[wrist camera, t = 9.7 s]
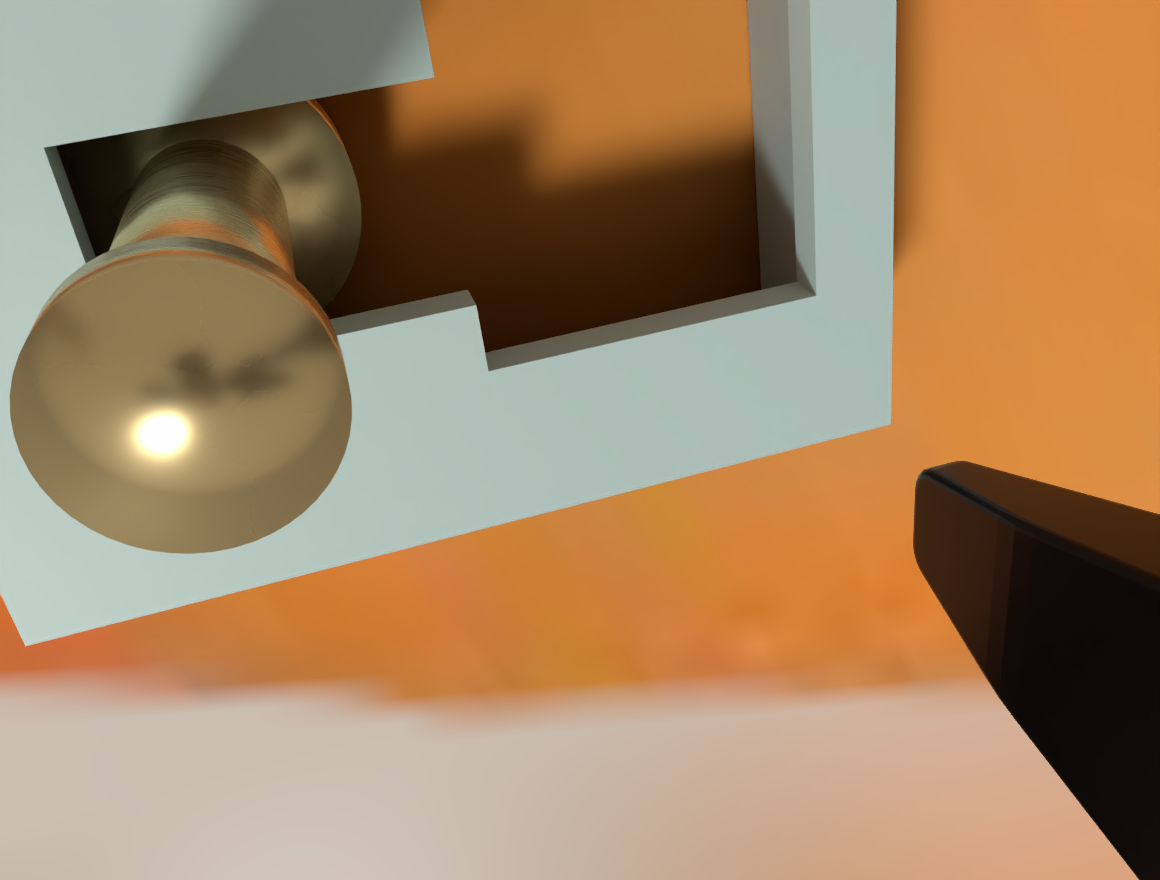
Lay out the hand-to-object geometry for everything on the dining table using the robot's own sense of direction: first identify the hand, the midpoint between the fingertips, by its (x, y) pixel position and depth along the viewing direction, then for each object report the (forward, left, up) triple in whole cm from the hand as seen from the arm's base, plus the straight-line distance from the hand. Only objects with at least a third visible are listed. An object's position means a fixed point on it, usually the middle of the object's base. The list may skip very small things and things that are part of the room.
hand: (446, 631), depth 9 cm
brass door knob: (+2, -1, -12) cm, 12 cm away
